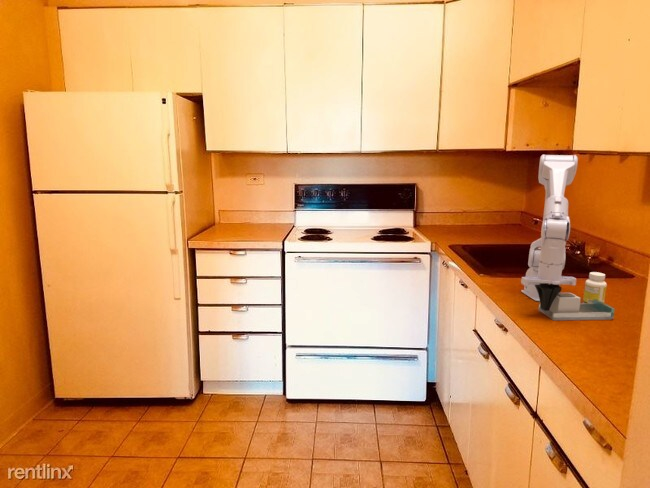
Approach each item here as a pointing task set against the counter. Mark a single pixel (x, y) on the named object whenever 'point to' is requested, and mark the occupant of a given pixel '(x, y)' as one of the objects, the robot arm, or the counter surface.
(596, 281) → the supplement bottle
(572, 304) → the block
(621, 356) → the counter surface
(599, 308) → the rail plate
